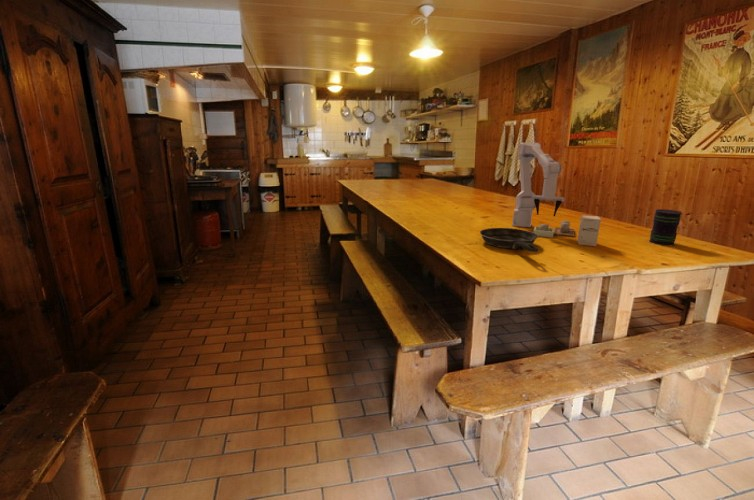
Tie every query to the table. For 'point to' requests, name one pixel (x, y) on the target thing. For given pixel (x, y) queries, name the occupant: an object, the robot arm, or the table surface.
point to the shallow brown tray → (570, 234)
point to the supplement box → (588, 230)
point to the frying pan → (510, 238)
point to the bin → (544, 232)
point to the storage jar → (665, 227)
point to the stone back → (565, 222)
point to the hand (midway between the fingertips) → (545, 215)
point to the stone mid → (565, 227)
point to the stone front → (544, 227)
